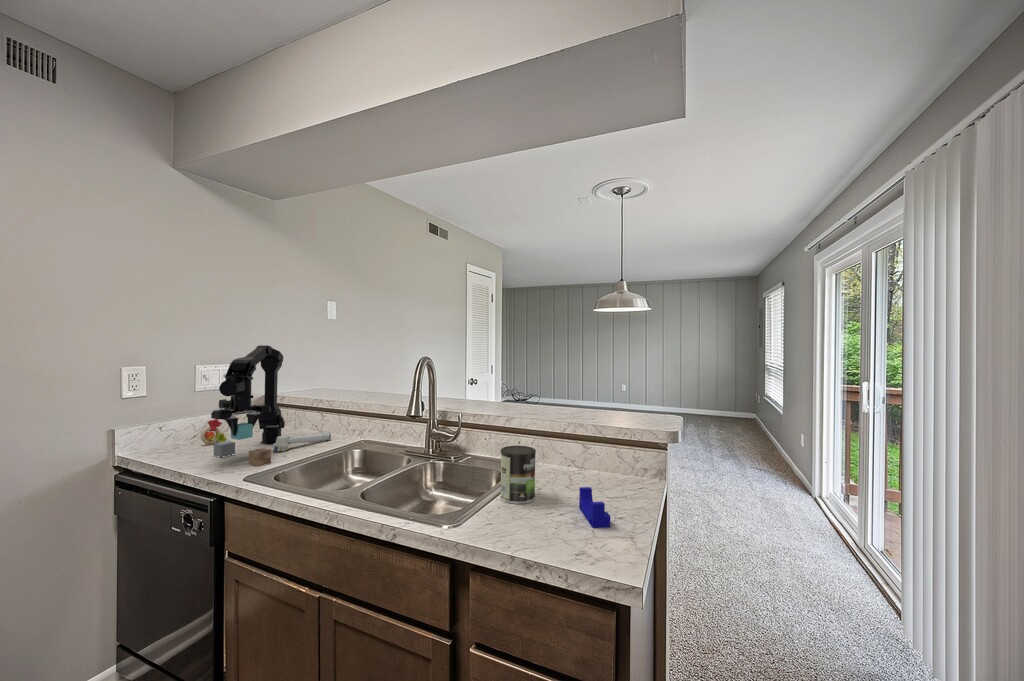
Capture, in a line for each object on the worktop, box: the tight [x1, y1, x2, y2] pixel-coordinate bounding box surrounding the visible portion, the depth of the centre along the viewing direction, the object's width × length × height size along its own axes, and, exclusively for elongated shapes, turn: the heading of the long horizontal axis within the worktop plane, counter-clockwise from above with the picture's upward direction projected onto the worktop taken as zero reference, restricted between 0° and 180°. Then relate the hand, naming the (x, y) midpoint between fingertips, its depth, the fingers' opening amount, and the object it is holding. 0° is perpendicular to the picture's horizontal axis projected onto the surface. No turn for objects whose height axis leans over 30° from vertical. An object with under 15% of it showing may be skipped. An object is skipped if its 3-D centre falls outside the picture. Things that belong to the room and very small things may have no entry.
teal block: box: [230, 422, 254, 441], centre depth 157 cm, size 5×5×5 cm
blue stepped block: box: [578, 486, 611, 529], centre depth 109 cm, size 12×4×6 cm, turn 7°
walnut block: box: [248, 447, 272, 467], centre depth 152 cm, size 5×5×5 cm
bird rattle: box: [200, 419, 228, 446], centre depth 179 cm, size 6×11×9 cm
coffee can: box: [500, 445, 537, 505], centre depth 123 cm, size 10×10×14 cm
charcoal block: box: [213, 440, 236, 457], centre depth 162 cm, size 5×5×5 cm
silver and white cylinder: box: [272, 431, 332, 453], centre depth 178 cm, size 5×7×25 cm
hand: (241, 434), depth 157 cm, fingers closed on teal block, 5 cm apart
